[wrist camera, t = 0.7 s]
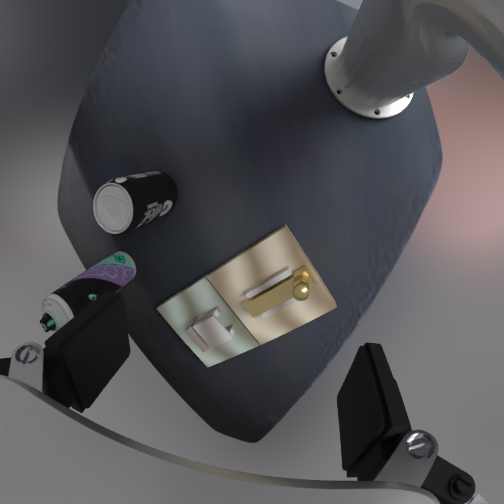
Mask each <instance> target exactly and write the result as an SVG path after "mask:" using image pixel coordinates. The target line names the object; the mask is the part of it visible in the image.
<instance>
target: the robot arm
mask: <svg viewBox="0 0 504 504" xmlns="http://www.w3.org/2000/svg"><path fill="white" fill-rule="evenodd" d="M470 45H471V46H472V47H473V48H474V49H475V50H476V51H477V52H478V53H479V54H480V56H482V57H483V58H484V59H485V60H486V61H487V62H488V63H489V64H490V65H491V66H492V67H493V68H494V70H495V71H496V72H497V73H498V74H499V76H500V77H501V78H502V79H503V80H504V0H363V1H362V4H361V6H360V9H359V11H358V13H357V15H356V18H355V20H354V23H353V25H352V27H351V30H350V32H349V34H348V37H345V38H342V39H340V40H339V41H337V42H336V43H335V44H334V45H333V46H332V47H331V48H330V50H329V51H328V53H327V56H326V59H325V64H324V74H325V78H326V82H327V84H328V86H329V89H330V90H331V92H332V93H333V95H334V96H335V98H336V99H337V100H338V101H339V102H340V103H341V104H342V105H344V106H345V107H346V108H347V109H349V110H350V111H352V112H354V113H356V114H358V115H361V116H363V117H367V118H372V119H384V118H389V117H392V116H395V115H397V114H399V113H400V112H402V111H403V110H404V109H405V108H406V107H407V106H408V105H409V103H410V101H411V99H412V96H413V93H414V92H416V91H418V90H420V89H422V88H424V87H426V86H428V85H430V84H432V83H434V82H436V81H438V80H440V79H442V78H444V77H446V76H448V75H450V74H452V73H454V72H455V71H456V70H458V69H459V68H460V67H461V66H462V64H463V63H464V61H465V59H466V57H467V55H468V51H469V46H470ZM331 55H334V56H335V57H332V56H331ZM337 91H340V94H338V93H337ZM405 97H406V98H405ZM374 112H377V115H376V114H375V113H374ZM45 345H46V347H45V348H44V349H43V348H42V346H41V345H40V344H38V343H35V342H25V343H22V344H21V345H19V346H17V347H16V348H15V350H14V351H13V353H12V357H11V358H2V359H0V504H488V503H487V501H486V500H485V499H484V498H483V497H482V496H481V495H480V494H479V493H478V494H477V495H475V494H474V492H475V482H474V480H473V478H472V477H471V476H470V475H469V474H468V473H466V472H464V471H462V470H461V469H459V468H457V467H456V466H454V465H453V464H451V463H449V462H447V461H446V460H444V459H443V458H441V457H439V456H438V455H437V454H438V444H437V441H436V439H435V438H434V437H433V435H431V434H430V433H428V432H426V431H423V430H413V431H412V429H411V425H410V422H409V419H408V416H407V412H406V409H405V406H404V403H403V400H402V397H401V394H400V391H399V388H398V385H397V382H396V380H395V379H394V378H393V375H392V373H391V370H390V367H389V364H388V362H387V359H386V356H385V354H384V351H383V349H382V346H381V345H380V344H376V343H365V345H364V346H360V347H359V349H358V352H357V354H356V356H355V359H354V361H353V363H352V365H351V368H350V370H349V372H348V374H347V376H346V378H345V381H344V383H343V385H342V387H341V389H340V391H339V393H338V396H337V407H338V417H339V427H340V440H341V455H342V468H343V470H346V471H347V477H357V479H358V481H324V480H322V481H321V480H305V479H290V478H281V477H272V476H264V475H257V474H251V473H245V472H239V471H234V470H229V469H225V468H220V467H215V466H211V465H207V464H203V463H200V462H196V461H192V460H189V459H185V458H182V457H179V456H176V455H172V454H169V453H166V452H163V451H160V450H158V449H155V448H152V447H149V446H147V445H144V444H141V443H139V442H136V441H134V440H132V439H129V438H127V437H124V436H122V435H120V434H118V433H115V432H113V431H111V430H109V429H107V428H105V427H103V426H101V425H99V424H96V423H95V422H93V421H91V420H89V419H87V418H85V417H83V416H81V415H80V414H78V413H76V412H74V411H72V410H70V409H69V407H70V406H71V407H72V408H74V409H75V410H77V411H79V412H81V413H82V412H83V411H84V410H85V408H89V407H90V406H91V405H92V404H93V402H94V401H95V399H96V398H97V397H98V396H99V394H100V393H101V392H102V390H103V389H104V388H105V386H106V385H107V384H108V382H109V381H110V380H111V379H112V377H113V376H114V375H115V373H116V372H117V371H118V370H119V368H120V367H121V366H122V364H123V363H124V362H125V361H126V359H127V358H128V357H129V354H130V345H129V339H128V330H127V323H126V315H125V306H124V300H123V299H122V298H121V296H120V295H119V294H117V293H114V292H110V291H106V292H104V293H103V294H102V295H101V296H99V297H98V298H97V299H95V300H94V301H93V302H92V303H90V304H89V305H88V306H87V307H86V308H84V309H83V310H82V311H81V312H79V313H78V314H77V315H76V316H74V317H73V318H72V319H71V320H70V321H68V322H67V323H66V324H65V325H64V326H62V327H61V328H60V329H59V330H58V331H57V332H55V333H54V334H53V335H52V336H51V337H50V338H48V339H47V340H46V341H45Z"/></svg>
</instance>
